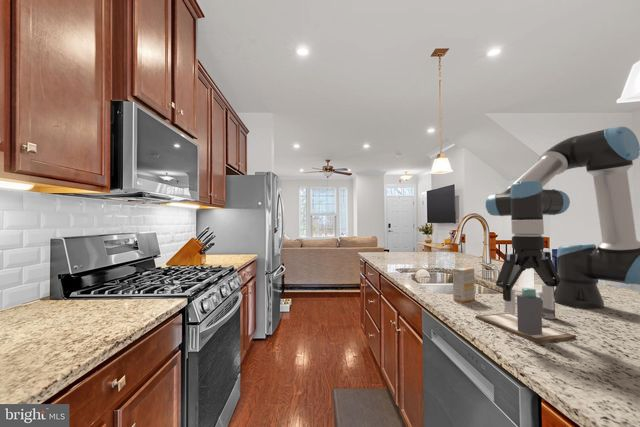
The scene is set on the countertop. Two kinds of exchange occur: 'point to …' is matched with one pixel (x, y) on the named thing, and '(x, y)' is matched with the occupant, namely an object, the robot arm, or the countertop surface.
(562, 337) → the brown rectangular tray
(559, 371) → the countertop surface
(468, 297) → the supplement box
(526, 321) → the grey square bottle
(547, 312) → the pill bottle
